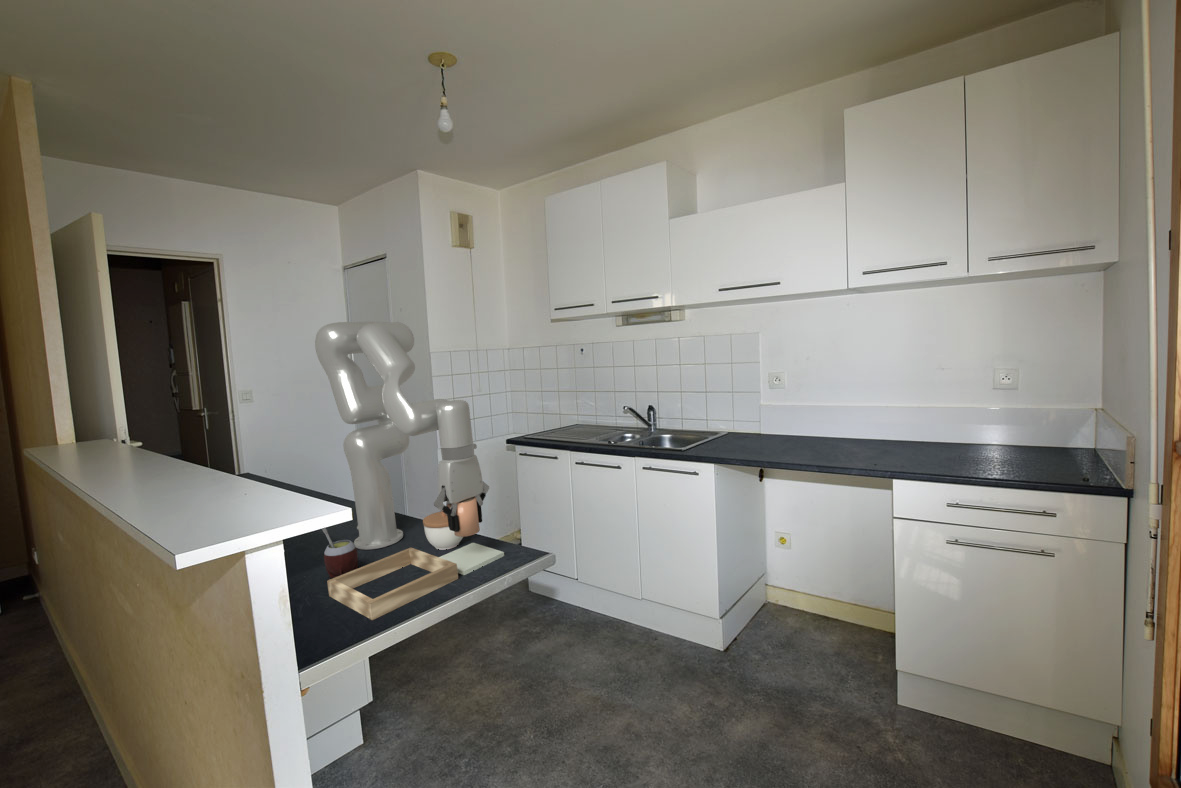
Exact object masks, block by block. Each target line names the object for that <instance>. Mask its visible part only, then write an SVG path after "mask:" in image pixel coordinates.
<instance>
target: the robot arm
mask: <svg viewBox="0 0 1181 788" xmlns="http://www.w3.org/2000/svg"><path fill="white" fill-rule="evenodd" d="M414 345H415V337H414V333H413V331H412V330H411V329H410V327H409V326H407V324H404V323H403V322H398V321H396V322H393V321H391V322H387V321H339V322H333V323H328V324H325V325H323V326H322V327H320V328H319V329H318V331H317V332H316V334H315V339H314V347H315V354H316V357H317V359H318V361H319V363H320V365H321V367H322V369H323V370H324V372H325V374H326V376H327V378H328V380H329V381H328V382H329V384H330V387H331V391H332V394H333V398H334V401H335V404H336V407H337V410H338V413H339V415H340V418H341V420H342V421H343V422H344V423H345V424H349V425H358V424H364V423H368V422H373V421H374V422H375V421H377V422H378V424H374V425H369V426H365V427H361V428H357V429H355V430H352V431H351V432H350V433H348V434H346V437H345V438H344V440H343V452H344V454H345V457H346V460H347V463H348V467H349V471H350V476H351V482H352V488H353V495H354V496H353V498H354V504H355V512H356V518H357V526H356V530H358V537H357V538H355V539H354V542H353V543H354V544H355V547H356V549H358V550H367V551H368V550H376V549H381V548H386V547H388V546H391V545H394V544H396V543H398V542H400V541H401V540H402V539H403V537H404V531H403V530H402V529H399V528H397V523H396V522H397V521H396V515H395V514H396V513H395V505H394V497H393V496H394V495H393V490H392V482H391V476H390V473H389V470H388V469H387V468H386V467H385V465H384V464H383V463H382V462H381V460H384V459H388V458H392V457H394V456H397V455H401V454H403V453H405V451H406V450H407V449H409V446H410V437H415V436H419V435H423V434H428V433H431V432H432V433H433V432H437V431H438V435H439V436H438V438H439V445H440V452H441V453H440V454H441V460H440V461H439V462H438V467H437V468H438V470H437V490H438V491H437V492H438V495H437V497H436V499H435V501H434V502H433V506H434V507H435V508H437V509H438V510H440V511H442V512H444V513H445V514H446V515H447V517H448V526H449V529H450V530H451V531H455V532H458V531H459V530H460V527H459V518H458V515H456V510H457V504H458V503H459V502H461V501H464V500H467V499H470V498H473V497H476V500H477V509H478V518H479V524H481V523H483V513H482V506H483V504H484V500H485V498H486V496H487V495H486V494H487V493H488V491H489V490H490V486H489V485H488V484H487V483H486V482H484V481H483V475H482V471H481V466H480V463H479V460H478V456H477V455H476V454H475V450H476V449H477V443H474V440H473V432H472V431H473V430H472V422H471V412H470V405H469V403H468V402H467V401H466V400H463V399H462V400H461V399H457V400H456V399H455V400H447V399H443V398H436V399H435V398H434V399H430V400H424V401H418V402H414V403H410V401H408V399H407V397H406V396H405V395H404V393H403V391H402V390H401V386H402V385H404V383H406V382H407V381H408V380H409V379H410V378H411V377H412V376H413V374H414V373H415V370H416V364H415V363H414V361H413V360H412V358H411V357H410V356H409V353H410V352H411V350H412V349H413V348H414ZM353 354H363V355H364V356H365V357H366V358H367V360H368V362H370V364H371V365H372V367H373V368H374V370H375V371H376V373H378V375H379V376H380V378H381V379H382V380H383V385H379V384H378V385H371V386H368V385H367V383H366V379H365V377H364V373H363V371H362V369H361V367H359V365H358V364H357V363H356V362H355V361H354V360H353V359H351V358H350V357H349V356H348V355H353ZM444 502H445V504H444ZM451 504H452V507H451Z"/></svg>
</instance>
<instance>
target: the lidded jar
mask: <svg viewBox="0 0 1181 788" xmlns="http://www.w3.org/2000/svg"><path fill="white" fill-rule="evenodd" d="M422 524H423V528H424V530H423V531H424V534H425V537H426V539H427V541H428V542H429V544H430V545H432V547H434V548H435V549H436V550H438V549H439V550H440V551H445V550H446V549H447V550H451V549H453V548H457V547H458V546H459V545H460V542H461V541H462V540H463V539H464V537H459V536H455V535H454V531H451V530H450V529H449V526H448V517H447V515H446V514H445V513H444V512H442V511H441V510H440V511H437V512H433V513H431V514H429V515H427V516H425V517H424V518H423V519H422ZM457 545H458V546H457Z"/></svg>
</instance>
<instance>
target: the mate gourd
mask: <svg viewBox="0 0 1181 788" xmlns="http://www.w3.org/2000/svg"><path fill="white" fill-rule="evenodd" d="M322 533H324V534H325V537H326V539H327V541H328V542H329V544H328V545H327V546H326V548H325V550H324V554H323V562H324V566H325V570H326V572H327V575H328V576H329V577H328V580H330V579H333V578H335V577H338V576H340V575H343V574H345V573H348V572H350V571H353V570H355V569H358V565H359V558H358V557H359V556H358V550H357V549H358V548H356V547H355V544H354V542H353V541H351V540H349V539H341V540H337V541H332V539H331V537H330V535H329V531H328V529H327V528H325V527H324V528H323V529H322Z"/></svg>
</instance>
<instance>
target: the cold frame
mask: <svg viewBox="0 0 1181 788" xmlns="http://www.w3.org/2000/svg"><path fill="white" fill-rule="evenodd" d="M439 557H440V556H437V555H433V554H430V553H428V552H425V551H422V550H419V549H416V548H413V547H409V548H406V549H403V550H401V551H399V552H396V553H393V554H390V555H388V556H387V557H386V556H385V557H384V558H381V559H379V560H376V561H373V562H370V563H368V564H366V565H363V566H361V567H359V568H358V567H357V569H355V570H353V571H350V572H348V573H345V574H343V575H340V576H338V577H335V578H333V579H330V580H329V579H328V580H327V581H326V582H327V583H326V584H327V590H328V596H329V598H332V599H333V600H336V601H337V602H339V603H341V604H342V605H344V606H346V607H348V608H349V609H351V610H353V611H355V612H356V613H358V614H361V615H362V616H364V617H366V618H368V619H369V620H370V621H374V620H376V619H378V618H380V617H382V616H384V615H386V614H388V613H391V612H393V611H395V610H396V609H399V608H401V607H403V606H405V605H407V604H409V603H411V602H413V601H416V600H417V599H419V598H421V597H424V596H425V595H428V594H430V593H431V592H434V591H436V590H438V589H440V588H443V587H444V586H446V585H448V584H451V583H453V582H454V581H456V580H459V573H458V571H457V564H456V563H453V562H450V561H447V560H445V559H442V558H439ZM410 565H412V566H415V567H418V568H420V569H423V570H426V571H428V572H429V573H427V574H425V575H423V576H420V577H419V578H416V579H414V580H412V581H410V582H408V583H405V584H404V585H401V586H399V587H396V588H394V589H392V590H389V591H388V592H385V593H383V594H381V595H379V596H377V597H375V598H374V597H373V598H372V597H370V596H367V595H366V594H364V593H362V592H360V591H358V590H356V589H355V588H358V587H360V586H363V585H364V584H367V583H369V582H371V581H374V580H377V579H379V578H381V577H383V576H386V575H388V574H391V573H393V572H396V571H397V570H400V569H403V568H405V567H407V566H410ZM402 567H403V568H402Z"/></svg>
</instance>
